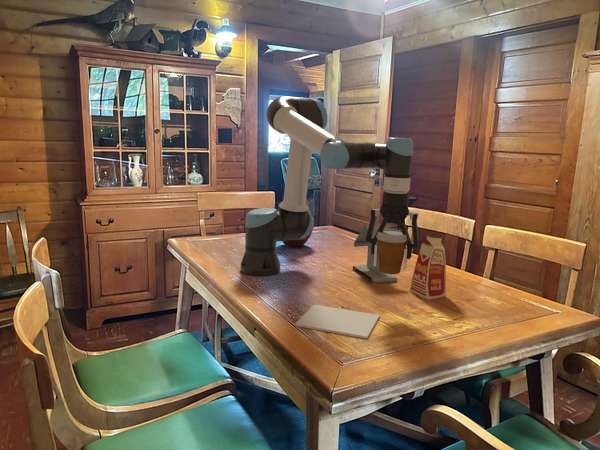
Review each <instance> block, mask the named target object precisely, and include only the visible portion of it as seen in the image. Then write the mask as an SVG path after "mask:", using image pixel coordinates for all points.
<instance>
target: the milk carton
mask: <svg viewBox="0 0 600 450" xmlns="http://www.w3.org/2000/svg"><path fill="white" fill-rule="evenodd" d="M442 240H443V238H438V237H437V238H435V237H431V236H428V235H426V239H425V240H424V241H423V242H422V243H421V247H420V249H419V252H418V255H417V258H416V262H415V266H414V269H413V273H412V278H411V282H410V286H409V292H411V293H413V294H415V295H417V296H419V297H421V298H423V299H425V300H426V301H427V300H433V299H437V298H438V299H439V298H442V297H443V298H444V297H446V296H447V295H446V294H447V263H446V262H447V261H446V249H445V246H444V244H443V243H442Z"/></svg>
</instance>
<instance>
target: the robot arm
mask: <svg viewBox="0 0 600 450" xmlns="http://www.w3.org/2000/svg"><path fill="white" fill-rule="evenodd" d="M266 120H267V122H268V124H269V126H270V127H271V128H272V129H273V130H274V131H275V132H278V134H282V135H285V134H286V135H287V137H289V139H290V140H289V151H288V156H287V157H288V159H287V167H286V173H285V174H286V176H285V183H284V192H283V200H282V201H281V202H280V203H278V210H277V209H276V208H274V207H260V208H259V207H258V208H255V209H251V210H249V211H248V212H247V213H246V215H245V223H244V226H245V228H244V229H245V237H244V239H245V240H244V241H245V242H244V243H245V249H244V253H243V255H242V260H241V263H240V272H241V271H242V272H241V273H243V274H245V273H246V275H248V274H249V275H250V276H255V275H256V276H257V277H259V276H260V277H261V276H263V277H264V276H273V275H277V274H279V273H281V263H280V260H279V255H278V252H277V243H278V242H282V241H287V240H298V239H301V238H305V237H306V236H308V235H309V233H310V232H311V230H312V226H313V220H314V218H313V219H312V217H313V214H312V213H311V211H310V207H309V208H308V206H307V205H306V203H305V202H306V198H307V194H308V185H309V178H310V172H311V171H310V170H311V166H312V165H311V164H312V156H313V153H315V155H318V156H319V158H320V162H321V163H322V166H323V167H325V168H326V169H333V170H348V169H349V170H351V169H352V170H353V169H374V170H375V169H377V170H384V172H383V175H384V176H383V186H382V187H383V188H382V189H383V192H382V200H381V206H380V208H373V209H371V210H370V219H369V221H370V222H369V223H368V224H369V228H368V232H367V236H366V241H367V242H370V243H371V254H373V255H374V265H373V266H377V264H378V243H377V241H378V240H377V237H376V235H377V233H378V232H380V233H381V232H382V231H383V230H384V228H385V226H386V224H387V223H389V224H395V225H398V226H399V228H400V230H401V231H402V234H403V235H406V237H407V241H406V247H405V249H404V257H403V261H402V271H406V270H407V268H408V267H407V266H408V260H410V259H412V252H413V249H415V248H418V247H419V245H420V243H419V242H420V240H419V229H418V220H419V219H418V218H419V213H418V212H412V211H410V209H409V203H410V201H409V200H410V194H409V192H410V190H411V177H412V176H411V174H412V166H413V164H412V163H413V157H414V141H413V139H412V138H410V137H408V138H407V137H388V138H387V139H386V143H377V142H376V143H375V142H372V141H371V142H350V141H349V142H347V141H344V140H343V139H341V138H339V137H337V136H336V135H335V134H332V133H331V132H330V131H327V130H326V129H325V128H326V127H327V124H328V112H327V108H326V107H325V104H324V103H323V102H322V101H321V100H319V99H315V98H311V97H298V96H297V97H296V96H287V95H285V96H279V97H276V98H275V99H273V100H272V101H271V102H270V103H269V105H268V106H267V109H266ZM308 209H309V210H308ZM380 214H381V216H382V217H383V220H382V221H381V223H380V224H381V225H380V227H379V229H378V231H377V233H376V235H375V236H374V238H372V234H373V230H374V226H375V224H376V221H377V217H379V215H380ZM408 216H409V220H411V230H412V231H411V232H412V240H413V241H412V240H411V237H410V236H411V235H410V233H409V231H408V229H407V226H406V221H405V219H406V218H408ZM313 227H314V226H313ZM312 231H313V230H312Z"/></svg>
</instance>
